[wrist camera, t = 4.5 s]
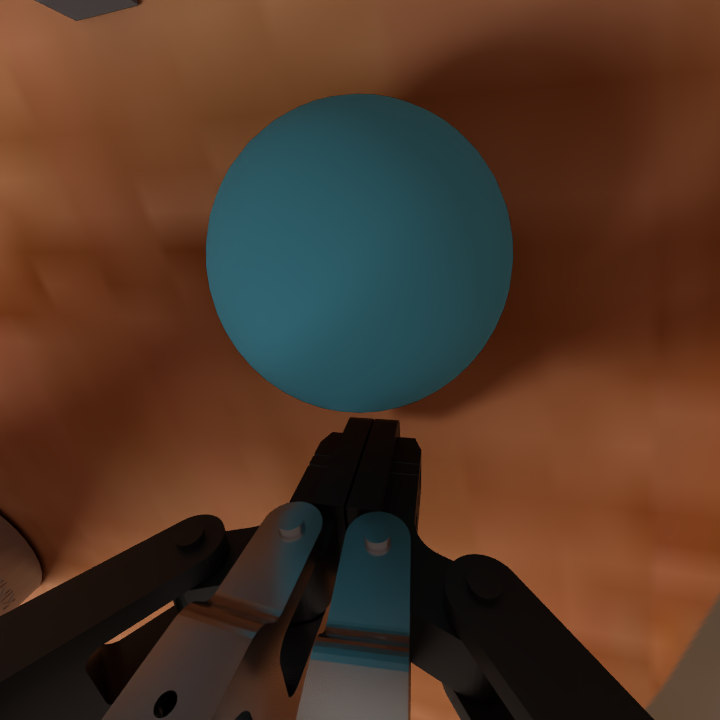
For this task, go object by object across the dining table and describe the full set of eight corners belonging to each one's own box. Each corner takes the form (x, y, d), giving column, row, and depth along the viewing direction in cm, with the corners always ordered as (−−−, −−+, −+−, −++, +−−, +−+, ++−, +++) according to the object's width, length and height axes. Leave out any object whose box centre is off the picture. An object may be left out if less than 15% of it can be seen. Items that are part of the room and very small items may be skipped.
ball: (68, 370, 5) (171, 2, 6) (261, 405, 10) (293, 220, 12) (569, 428, 4) (577, -31, 5) (473, 431, 9) (486, 226, 10)
